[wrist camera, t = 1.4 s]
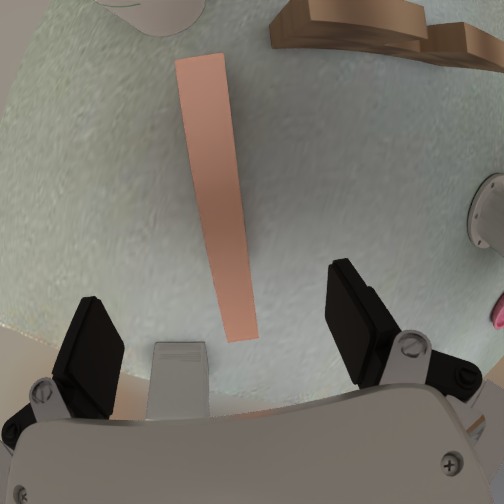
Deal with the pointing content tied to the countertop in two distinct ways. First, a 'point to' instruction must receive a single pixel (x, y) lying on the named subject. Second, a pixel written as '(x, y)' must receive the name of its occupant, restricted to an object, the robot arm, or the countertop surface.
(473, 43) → the walnut slotted plate
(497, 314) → the saucer
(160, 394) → the supplement box
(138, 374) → the countertop surface
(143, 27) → the cylindrical container
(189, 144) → the terracotta slotted plate
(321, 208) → the countertop surface
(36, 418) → the robot arm
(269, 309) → the countertop surface
